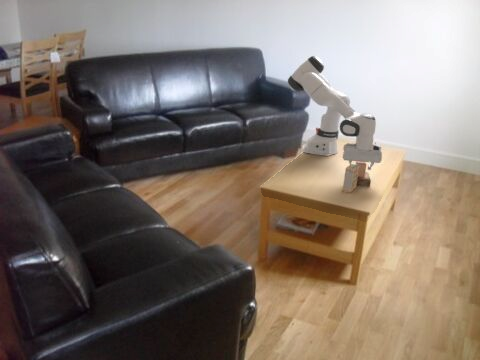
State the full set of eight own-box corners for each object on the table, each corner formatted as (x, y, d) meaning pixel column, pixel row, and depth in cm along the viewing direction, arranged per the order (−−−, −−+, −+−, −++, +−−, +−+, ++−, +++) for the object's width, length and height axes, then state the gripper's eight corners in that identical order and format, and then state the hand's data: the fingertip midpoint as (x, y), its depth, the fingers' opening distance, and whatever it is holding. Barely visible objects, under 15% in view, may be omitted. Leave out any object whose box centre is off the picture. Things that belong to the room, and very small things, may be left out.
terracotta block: (355, 176, 262) (356, 164, 259) (354, 172, 267) (355, 160, 264) (364, 177, 262) (366, 164, 259) (363, 173, 266) (365, 161, 264)
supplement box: (350, 193, 251) (354, 170, 246) (342, 191, 253) (345, 168, 248) (356, 188, 258) (359, 165, 252) (347, 186, 260) (351, 163, 255)
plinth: (349, 184, 261) (350, 177, 260) (347, 176, 271) (348, 170, 270) (369, 186, 260) (371, 179, 259) (367, 178, 270) (368, 171, 269)
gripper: (344, 145, 255) (341, 169, 261) (384, 148, 254) (380, 172, 259) (343, 141, 261) (340, 164, 267) (382, 144, 259) (378, 167, 265)
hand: (360, 168), depth 263 cm, fingers open, 8 cm apart
